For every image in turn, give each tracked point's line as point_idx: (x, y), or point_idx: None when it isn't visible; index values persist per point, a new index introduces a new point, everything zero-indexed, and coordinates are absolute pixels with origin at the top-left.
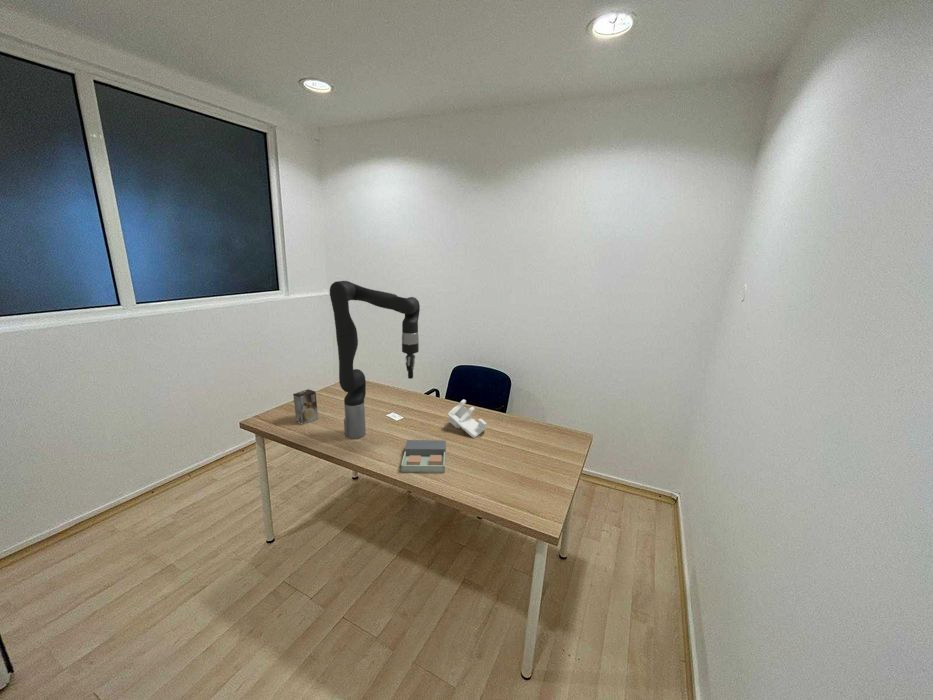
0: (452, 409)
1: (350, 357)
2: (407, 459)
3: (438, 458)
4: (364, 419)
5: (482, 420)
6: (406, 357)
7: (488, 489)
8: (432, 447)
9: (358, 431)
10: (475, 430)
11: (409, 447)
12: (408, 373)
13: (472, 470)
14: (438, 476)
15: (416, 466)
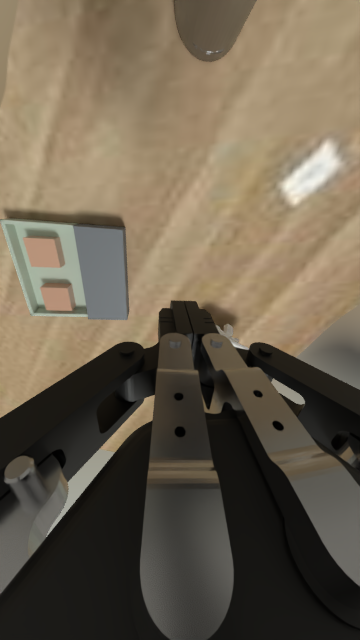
0: (233, 345)
1: None
2: (63, 232)
3: (56, 304)
4: (218, 15)
5: None
6: (147, 615)
7: (9, 368)
8: (92, 293)
9: (181, 9)
10: None
11: (83, 238)
12: (173, 323)
13: (58, 350)
14: (21, 298)
15: (13, 258)
